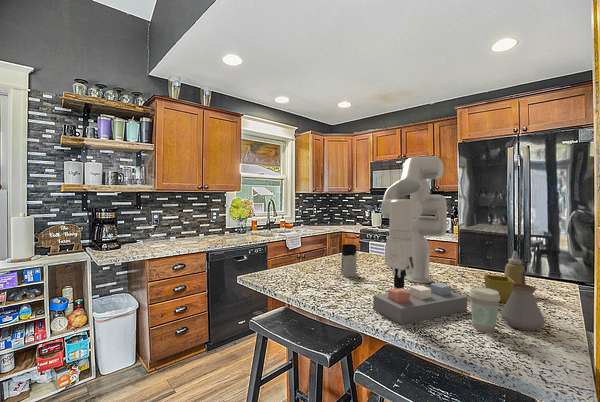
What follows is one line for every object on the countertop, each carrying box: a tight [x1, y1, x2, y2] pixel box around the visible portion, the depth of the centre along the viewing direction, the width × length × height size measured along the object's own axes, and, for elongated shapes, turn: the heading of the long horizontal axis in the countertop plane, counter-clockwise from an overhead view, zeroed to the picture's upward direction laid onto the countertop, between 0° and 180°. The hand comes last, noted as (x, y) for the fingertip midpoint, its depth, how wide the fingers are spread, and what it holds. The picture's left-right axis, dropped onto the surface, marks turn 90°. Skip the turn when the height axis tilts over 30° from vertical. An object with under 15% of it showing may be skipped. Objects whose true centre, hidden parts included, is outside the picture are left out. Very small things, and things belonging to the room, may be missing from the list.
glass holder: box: [329, 243, 358, 277], centre depth 157 cm, size 9×14×15 cm, turn 89°
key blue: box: [429, 282, 452, 296], centre depth 112 cm, size 5×5×5 cm
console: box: [372, 286, 468, 325], centre depth 108 cm, size 14×31×5 cm, turn 114°
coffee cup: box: [468, 286, 501, 333], centre depth 94 cm, size 8×8×12 cm
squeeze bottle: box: [503, 250, 527, 285], centre depth 131 cm, size 8×8×18 cm
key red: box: [388, 288, 410, 303], centre depth 104 cm, size 5×5×5 cm
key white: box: [409, 284, 431, 300], centre depth 108 cm, size 5×5×5 cm
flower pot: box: [483, 274, 515, 303], centre depth 120 cm, size 9×9×9 cm
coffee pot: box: [500, 270, 546, 332], centre depth 100 cm, size 21×12×15 cm, turn 143°
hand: (399, 287), depth 104 cm, fingers closed
